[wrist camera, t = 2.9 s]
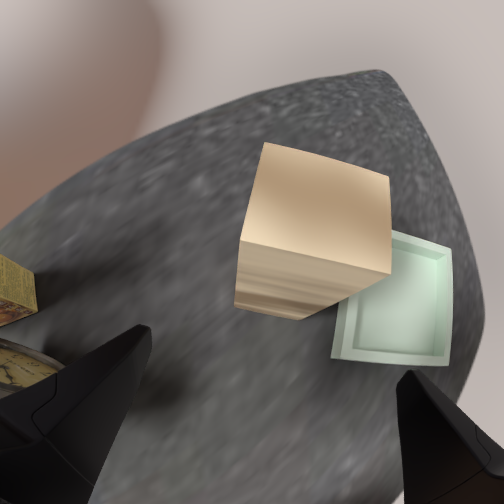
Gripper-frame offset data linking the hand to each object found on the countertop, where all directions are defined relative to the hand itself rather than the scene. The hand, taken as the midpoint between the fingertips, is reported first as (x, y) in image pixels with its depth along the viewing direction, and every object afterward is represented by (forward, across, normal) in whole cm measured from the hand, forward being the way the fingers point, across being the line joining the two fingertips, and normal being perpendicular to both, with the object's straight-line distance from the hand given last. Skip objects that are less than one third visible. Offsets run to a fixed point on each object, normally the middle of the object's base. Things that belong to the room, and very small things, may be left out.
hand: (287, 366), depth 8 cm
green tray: (+13, -11, +4) cm, 17 cm away
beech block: (+12, 0, +5) cm, 13 cm away
